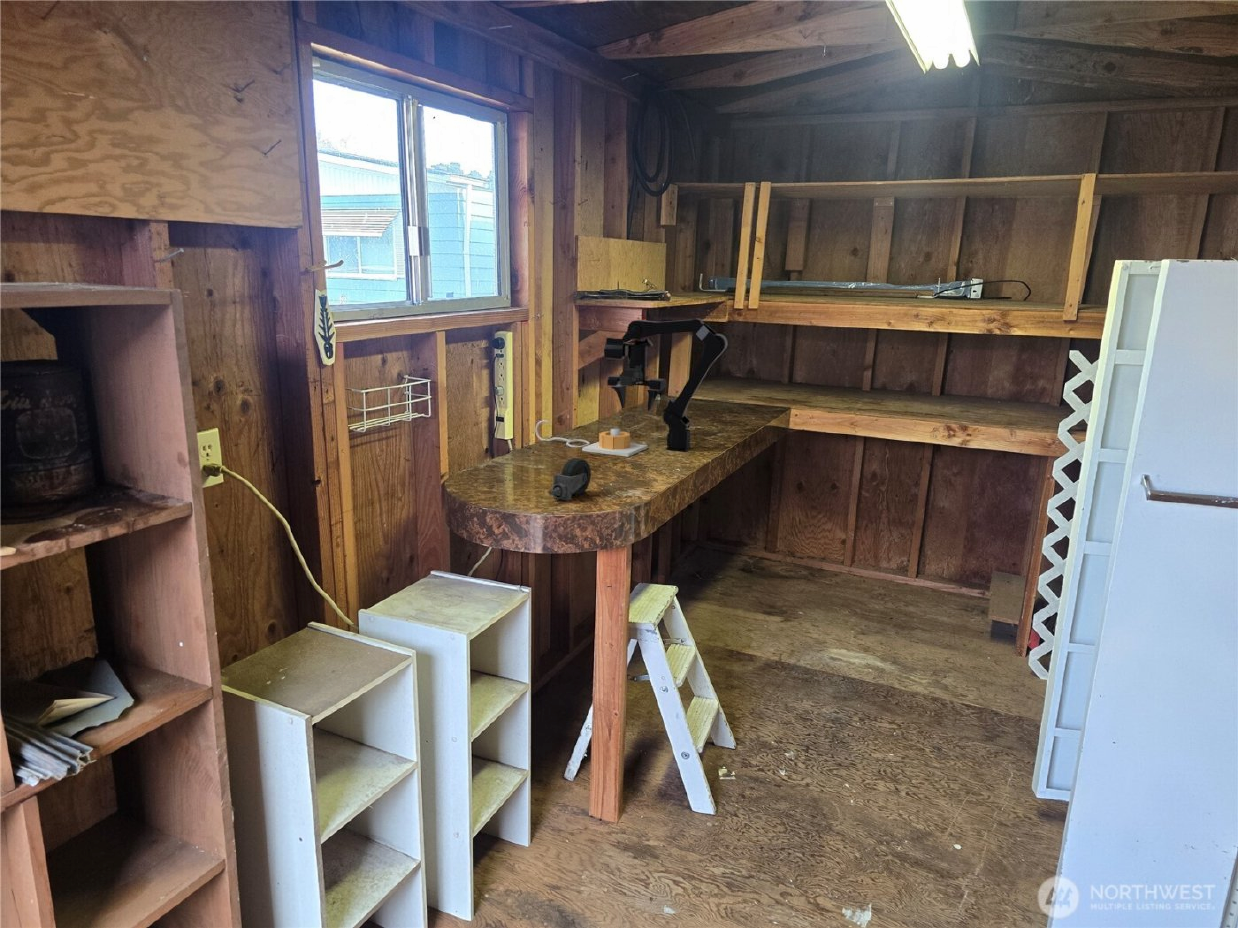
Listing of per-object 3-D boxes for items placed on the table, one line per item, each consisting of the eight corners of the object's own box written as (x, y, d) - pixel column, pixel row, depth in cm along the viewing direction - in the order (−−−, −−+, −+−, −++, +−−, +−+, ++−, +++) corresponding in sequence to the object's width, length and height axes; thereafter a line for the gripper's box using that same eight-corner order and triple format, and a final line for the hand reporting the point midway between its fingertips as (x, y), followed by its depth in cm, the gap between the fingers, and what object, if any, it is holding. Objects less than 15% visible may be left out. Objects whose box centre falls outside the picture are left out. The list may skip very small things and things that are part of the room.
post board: (647, 448, 247) (647, 428, 245) (628, 456, 234) (628, 435, 233) (603, 442, 254) (603, 423, 252) (582, 450, 241) (582, 430, 240)
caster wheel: (576, 492, 198) (540, 500, 185) (578, 455, 196) (542, 460, 183) (594, 496, 195) (559, 503, 182) (597, 458, 193) (561, 463, 181)
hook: (542, 436, 263) (592, 451, 254) (526, 440, 254) (577, 457, 246) (544, 415, 260) (595, 430, 252) (528, 419, 252) (580, 435, 244)
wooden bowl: (633, 445, 246) (634, 432, 245) (621, 450, 238) (621, 437, 237) (608, 442, 250) (608, 430, 249) (594, 447, 242) (595, 434, 241)
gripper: (599, 360, 241) (598, 410, 244) (653, 364, 233) (652, 415, 236) (615, 357, 250) (614, 405, 254) (668, 361, 242) (666, 410, 246)
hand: (636, 409), depth 247 cm, fingers open, 9 cm apart
